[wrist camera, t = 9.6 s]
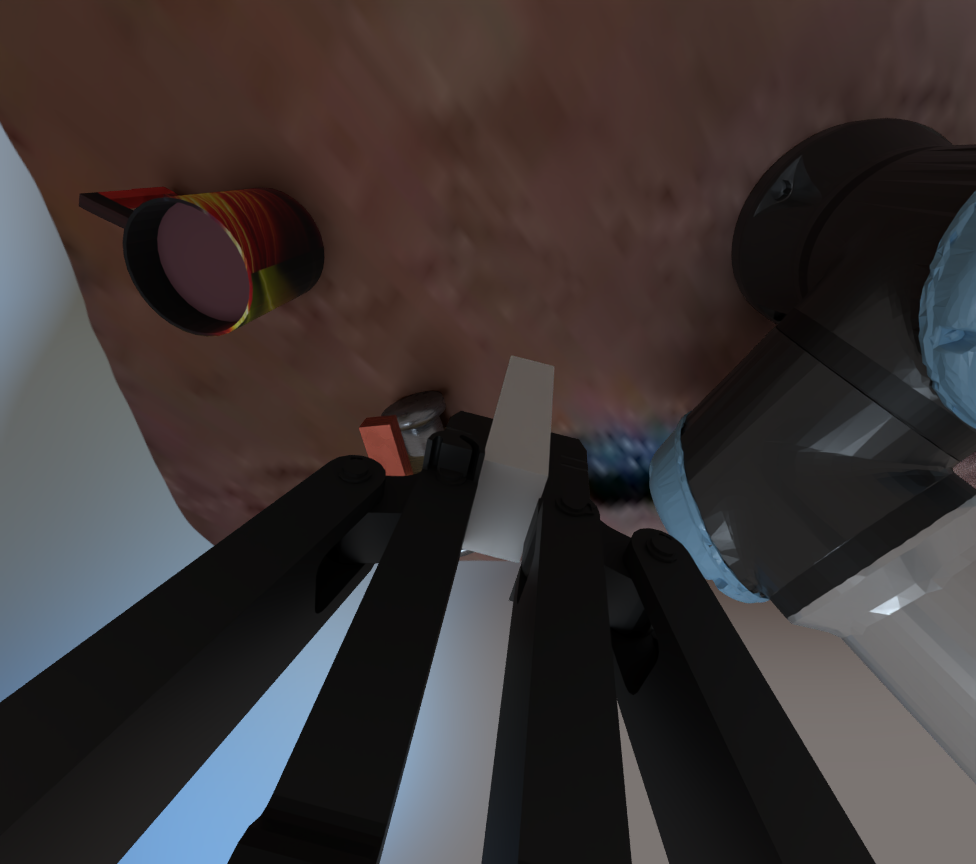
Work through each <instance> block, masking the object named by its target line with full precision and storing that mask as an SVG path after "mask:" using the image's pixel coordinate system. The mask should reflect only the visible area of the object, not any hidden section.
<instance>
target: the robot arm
mask: <svg viewBox="0 0 976 864" xmlns="http://www.w3.org/2000/svg"><path fill="white" fill-rule="evenodd" d="M732 266H733V272H734V276H735V279H736V282H737V284H738V287H739V289H740V291H741V292H742V294H743V296H744V297H745V298H746V300H747V301H748V302H749V303H750V304H751V305H752V306H753V307H754V308H755V309H756V310H757V311H759V312H760V313H761V314H762V315H764V316H765V317H766V318H768V319H769V320H771V321H772V322H774V323H776V324H778V325H777V326H776V327H774V328H773V329H772V330H771V331H770V332H769V333H768V334H767V335H766V336H765V337H764V338H763V339H762V340H761V341H760V342H759V343H758V344H757V345H756V346H755V348H754V349H753V350H752V351H751V352H750V353H749V354H748V355H747V356H746V357H745V358H744V359H743V360H742V361H741V362H740V363H739V364H738V365H737V366H736V367H735V368H734V369H733V370H732V371H731V372H730V373H729V374H728V375H727V376H726V377H725V378H724V379H723V380H722V381H721V382H720V383H719V384H718V385H717V386H716V387H715V388H714V389H713V390H712V391H711V392H710V393H709V394H708V395H707V396H706V397H705V398H704V399H703V400H702V401H701V402H700V403H699V404H698V405H697V406H696V407H695V408H694V409H693V410H692V411H690V412H689V413H687V414H685V415H684V416H683V417H682V418H681V420H680V421H679V423H678V426H677V428H676V429H675V431H674V432H673V433H672V434H671V435H670V436H669V438H668V439H667V440H666V441H665V442H664V443H663V444H662V445H661V447H660V448H659V449H658V450H657V451H656V453H655V454H654V456H653V458H652V461H651V464H650V472H649V476H650V482H649V485H650V491H651V495H652V499H653V502H654V505H655V507H656V510H657V512H658V514H659V517H660V519H661V521H662V523H663V524H664V526H665V528H666V530H667V531H668V533H669V534H666V533H664V532H662V531H659V530H655V529H651V528H646V529H639V530H637V531H636V532H634V533H633V535H632V537H631V538H630V537H628V536H626V535H624V534H622V533H620V532H618V531H616V530H614V529H612V528H611V527H609V526H607V525H606V524H605V523H603V522H602V521H601V520H600V514H599V511H598V508H597V506H596V505H595V504H594V503H593V502H592V501H591V499H590V492H589V478H588V472H587V471H588V464H587V451H586V449H585V448H584V446H583V445H582V443H581V442H580V440H579V439H575V438H571V437H567V436H563V435H559V434H555V433H552V432H551V417H552V399H553V381H554V366H551V365H547V364H543V363H539V362H535V361H531V360H527V359H523V358H519V357H515V356H511V358H510V362H509V365H508V369H507V372H506V376H505V380H504V383H503V387H502V390H501V394H500V398H499V401H498V405H497V408H496V412H495V415H494V419H491V418H487V417H484V416H480V415H476V414H472V413H468V412H464V411H460V412H458V413H457V414H455V415H453V416H452V417H451V418H450V420H449V422H448V424H447V426H446V429H445V431H439V432H436V433H433V434H432V435H431V436H430V437H429V438H428V439H427V443H426V449H425V455H424V461H423V467H422V470H421V472H419V473H417V474H413V475H408V476H387V475H386V471H385V469H384V468H383V466H382V465H381V464H380V463H379V462H377V461H375V460H374V459H372V458H368V457H365V456H359V455H348V456H342V457H338V458H336V459H334V460H332V461H330V462H328V463H327V464H326V465H324V466H323V467H322V468H320V469H319V470H317V471H316V472H315V473H313V474H312V475H311V476H309V477H308V478H307V479H305V480H304V481H302V482H301V483H300V484H298V485H297V486H296V487H294V488H293V489H292V490H290V491H289V492H287V493H286V494H285V495H283V496H282V497H281V498H279V499H278V500H276V501H275V502H274V503H272V504H271V505H270V506H268V507H267V508H266V509H264V510H263V511H261V512H260V513H259V514H257V515H256V516H255V517H253V518H252V519H250V520H249V521H248V522H246V523H245V524H244V525H242V526H241V527H240V528H238V529H237V530H235V531H234V532H233V533H231V534H230V535H229V536H227V537H226V538H224V539H223V540H222V541H220V542H219V543H218V544H216V545H215V546H214V547H212V548H211V549H209V550H208V551H207V552H205V553H204V554H203V555H201V556H200V557H199V558H197V559H196V560H194V561H193V562H192V563H190V564H189V565H188V566H186V567H185V568H184V569H182V570H181V571H179V572H178V573H177V574H175V575H174V576H173V577H171V578H170V579H168V580H167V581H166V582H164V583H163V584H162V585H160V586H159V587H157V588H156V589H155V590H153V591H152V592H151V593H149V594H148V595H147V596H145V597H144V598H143V599H141V600H140V601H138V602H137V603H136V604H134V605H133V606H131V607H130V608H129V609H127V610H126V611H125V612H124V613H122V614H121V615H119V616H118V617H116V618H115V619H114V620H112V621H111V622H110V623H108V624H107V625H105V626H104V627H103V628H101V629H100V630H99V631H97V632H96V633H95V634H93V635H92V636H90V637H89V638H88V639H87V640H85V641H84V642H82V643H81V644H80V645H78V646H77V647H75V648H74V649H73V650H71V651H70V652H69V653H67V654H66V655H64V656H63V657H62V658H60V659H59V660H58V661H56V662H55V663H54V664H52V665H51V666H49V667H48V668H47V669H45V670H44V671H43V672H41V673H40V674H39V675H37V676H36V677H34V678H33V679H32V680H30V681H29V682H28V683H26V684H25V685H23V686H22V687H21V688H19V689H18V690H17V691H15V692H14V693H13V694H11V695H10V696H9V697H7V698H6V699H4V700H3V701H2V702H0V864H117V863H118V862H119V861H120V860H121V859H122V857H123V856H124V855H125V854H126V853H127V852H128V850H129V849H130V848H131V847H132V846H133V845H134V843H135V842H136V841H137V840H138V839H139V837H140V836H141V835H142V834H143V833H144V832H145V831H146V830H147V828H148V827H149V826H150V825H151V824H152V823H153V821H154V820H155V819H156V818H157V817H158V816H159V815H160V813H161V812H162V811H163V810H164V809H165V808H166V807H167V805H168V804H169V803H170V802H171V801H172V800H173V798H174V797H175V796H176V795H177V794H178V792H179V791H180V790H181V789H182V788H183V787H184V786H185V784H186V783H187V782H188V781H189V780H190V779H191V778H192V776H193V775H194V774H195V773H196V772H197V771H198V770H199V768H200V767H201V766H202V765H203V764H204V763H205V761H206V760H207V759H208V758H209V757H210V756H211V754H212V753H213V752H214V751H215V750H216V749H217V748H218V746H219V745H220V744H221V743H222V742H223V741H224V739H225V738H226V737H227V736H228V735H229V734H230V733H231V731H232V730H233V729H234V728H235V727H236V726H237V724H238V723H239V722H240V721H241V720H242V719H243V718H244V716H245V715H246V714H247V713H248V712H249V711H250V709H251V708H252V707H253V706H254V705H255V704H256V702H257V701H258V700H259V699H260V698H261V697H262V695H263V694H264V693H265V692H266V691H267V690H268V689H269V687H270V686H271V685H272V684H273V683H274V682H275V680H276V679H277V678H278V677H279V676H280V674H282V672H283V671H284V670H285V669H286V668H287V667H288V666H289V664H290V663H291V662H292V661H293V660H294V659H295V657H296V656H297V655H298V654H299V653H300V652H301V650H302V649H303V648H304V647H305V646H306V644H308V642H309V641H310V640H311V639H312V638H313V637H314V635H315V634H316V633H317V632H318V631H319V630H320V629H321V627H322V626H323V625H324V624H325V623H326V621H327V620H328V619H329V618H330V617H331V616H332V615H333V613H334V612H335V611H336V610H337V609H338V608H339V607H340V605H341V604H342V603H343V602H344V601H345V600H346V598H347V597H348V596H349V595H350V594H351V593H352V591H353V590H354V589H355V588H356V587H357V586H358V584H359V583H360V582H361V581H362V580H363V579H364V578H365V576H366V575H367V574H368V573H369V572H370V571H371V569H372V567H373V566H374V564H375V563H379V564H378V566H377V569H376V570H375V573H374V575H373V577H372V579H371V581H370V584H369V586H368V588H367V590H366V592H365V595H364V597H363V599H362V601H361V603H360V605H359V608H358V610H357V612H356V614H355V616H354V618H353V621H352V623H351V625H350V627H349V629H348V631H347V634H346V636H345V638H344V640H343V642H342V645H341V647H340V649H339V651H338V653H337V655H336V658H335V660H334V662H333V664H332V667H331V669H330V671H329V673H328V675H327V677H326V679H325V682H324V684H323V686H322V688H321V690H320V693H319V695H318V697H317V699H316V701H315V703H314V706H313V708H312V710H311V712H310V714H309V716H308V719H307V721H306V723H305V725H304V727H303V730H302V732H301V734H300V736H299V738H298V741H297V743H296V745H295V747H294V749H293V752H292V754H291V756H290V758H289V760H288V762H287V765H286V766H285V769H284V771H283V773H282V775H281V778H280V780H279V782H278V784H277V786H276V788H275V790H274V793H273V795H272V797H271V799H270V801H269V803H268V805H267V807H266V808H265V810H264V811H263V813H262V814H261V816H260V817H259V818H258V819H257V820H255V822H253V823H252V824H251V825H250V826H249V827H248V829H247V830H246V832H245V833H244V835H243V836H242V838H241V839H240V841H239V842H238V844H237V846H236V848H235V850H234V852H233V854H232V856H231V858H230V859H229V861H228V863H227V864H379V863H380V859H381V855H382V851H383V848H384V844H385V840H386V836H387V832H388V829H389V825H390V821H391V817H392V813H393V809H394V806H395V802H396V798H397V794H398V790H399V787H400V783H401V779H402V775H403V771H404V768H405V764H406V760H407V756H408V752H409V748H410V744H411V741H412V737H413V733H414V730H415V725H416V722H417V718H418V714H419V710H420V706H421V703H422V699H423V695H424V691H425V688H426V684H427V680H428V676H429V672H430V668H431V664H432V661H433V657H434V653H435V649H436V646H437V642H438V638H439V634H440V630H441V627H442V623H443V619H444V615H445V611H446V608H447V604H448V600H449V596H450V592H451V589H452V585H453V581H454V577H455V573H456V570H457V566H458V562H459V558H460V554H461V550H462V549H466V550H470V551H474V552H478V553H482V554H485V555H489V556H493V557H497V558H501V559H505V560H509V561H512V562H517V563H519V561H520V558H521V555H522V563H521V566H520V569H519V572H518V575H517V578H516V581H515V584H514V587H513V590H512V593H511V596H510V598H509V600H510V601H513V610H512V617H511V626H510V635H509V642H508V650H507V658H506V667H505V675H504V684H503V692H502V700H501V708H500V716H499V724H498V732H497V741H496V749H495V757H494V765H493V774H492V782H491V790H490V798H489V807H488V815H487V823H486V831H485V839H484V848H483V856H482V864H632V861H631V851H630V839H629V828H628V817H627V806H626V797H625V785H624V774H623V763H622V752H621V741H620V730H619V719H618V709H617V701H618V704H619V707H620V710H621V713H622V717H623V720H624V723H625V726H626V729H627V732H628V736H629V739H630V742H631V745H632V748H633V751H634V754H635V757H636V760H637V764H638V767H639V770H640V773H641V776H642V779H643V783H644V786H645V789H646V792H647V795H648V798H649V801H650V804H651V807H652V811H653V814H654V817H655V820H656V823H657V826H658V829H659V832H660V836H661V839H662V842H663V845H664V848H665V851H666V855H667V858H668V861H669V864H876V863H875V862H874V860H873V858H872V857H871V855H870V853H869V852H868V850H867V848H866V847H865V845H864V843H863V842H862V840H861V838H860V837H859V835H858V833H857V832H856V830H855V828H854V827H853V825H852V823H851V822H850V820H849V818H848V817H847V815H846V813H845V811H844V810H843V808H842V807H841V805H840V803H839V802H838V800H837V798H836V796H835V795H834V793H833V791H832V790H831V788H830V786H829V785H828V783H827V781H826V780H825V778H824V776H823V775H822V773H821V771H820V770H819V768H818V766H817V765H816V763H815V761H814V760H813V758H812V756H811V755H810V753H809V752H808V750H807V748H806V747H805V745H804V743H803V741H802V740H801V738H800V736H799V735H798V733H797V731H796V730H795V728H794V727H793V725H792V723H791V721H790V720H789V718H788V717H787V715H786V713H785V712H784V710H783V708H782V706H781V705H780V703H779V701H778V700H777V698H776V696H775V695H774V693H773V691H772V690H771V688H770V686H769V685H768V683H767V681H766V680H765V678H764V676H763V675H762V673H761V671H760V670H759V668H758V666H757V665H756V663H755V661H754V660H753V658H752V657H751V655H750V653H749V651H748V650H747V648H746V646H745V645H744V643H743V642H742V640H741V638H740V636H739V635H738V633H737V631H736V630H735V628H734V626H733V625H732V623H731V622H730V620H729V618H728V616H727V615H726V613H725V612H724V610H723V608H722V606H721V605H720V603H719V602H718V600H717V598H716V596H715V595H714V593H713V591H712V590H711V588H710V586H709V585H708V583H707V581H706V580H705V578H706V579H707V580H711V579H712V580H713V581H714V583H715V585H716V586H717V588H718V590H720V591H722V592H723V593H724V594H726V595H727V596H729V597H731V598H733V599H735V600H738V601H741V602H745V603H755V602H765V601H768V600H771V601H772V602H773V604H774V605H775V606H776V607H777V608H778V609H779V610H780V612H781V613H782V614H783V615H784V616H785V617H786V618H787V620H788V621H789V622H790V623H791V624H795V625H799V626H803V627H808V628H812V629H817V630H821V631H825V632H829V633H831V634H834V635H835V636H838V637H840V638H841V639H842V640H843V641H844V642H845V643H846V644H847V645H848V646H849V647H850V648H851V650H852V651H853V652H854V653H855V654H856V655H857V656H858V657H859V658H860V659H861V660H862V661H863V663H864V664H865V665H866V666H867V667H868V668H869V669H870V670H871V671H872V672H873V673H874V674H875V676H876V677H877V678H878V679H879V680H880V681H881V682H882V683H883V684H884V685H885V686H886V687H887V689H888V690H889V691H890V692H891V693H892V694H893V695H894V696H895V697H896V698H897V699H898V700H899V702H900V703H901V704H902V705H903V706H904V707H905V708H906V709H907V710H908V711H909V712H910V714H911V715H912V716H913V717H914V718H915V719H916V720H917V721H918V722H919V723H920V724H921V725H922V727H923V728H924V729H925V730H926V731H927V732H928V733H929V734H930V735H931V736H932V737H933V739H934V740H935V741H936V742H937V743H938V744H939V745H940V746H941V747H942V748H943V749H944V750H945V752H946V753H947V754H948V755H949V756H950V757H951V758H952V759H953V760H954V761H955V762H956V763H957V765H958V766H959V767H960V768H961V769H962V770H963V771H964V772H965V773H966V774H967V775H968V776H969V778H971V779H972V781H973V782H974V783H975V784H976V489H975V488H974V487H972V486H971V485H970V484H968V483H967V482H966V481H964V480H963V479H962V478H960V477H959V476H958V475H956V474H955V473H954V472H953V467H954V466H956V465H957V464H958V463H960V461H962V460H964V459H965V458H966V457H968V456H969V455H971V454H972V453H974V452H975V451H976V144H975V145H952V143H950V142H949V141H948V140H947V139H946V138H945V137H943V136H942V135H941V134H939V133H938V132H937V131H935V130H933V129H932V128H929V127H927V126H925V125H922V124H919V123H916V122H912V121H908V120H902V119H891V118H883V119H871V120H863V121H855V122H850V123H845V124H841V125H838V126H835V127H832V128H829V129H827V130H824V131H822V132H820V133H818V134H815V135H813V136H811V137H810V138H808V139H806V140H804V141H803V142H801V143H800V144H798V145H797V146H795V147H794V148H792V149H791V150H790V151H788V152H787V153H786V154H785V155H784V156H782V157H781V158H780V159H779V160H778V161H777V162H776V163H775V164H774V165H773V166H772V167H771V168H770V169H769V170H768V171H767V172H766V173H765V174H764V176H763V177H762V178H761V179H760V181H759V182H758V183H757V184H756V186H755V187H754V189H753V190H752V192H751V193H750V195H749V197H748V199H747V200H746V202H745V204H744V206H743V208H742V211H741V213H740V215H739V218H738V221H737V224H736V227H735V231H734V236H733V242H732ZM522 552H523V554H522Z"/></svg>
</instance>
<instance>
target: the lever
mask: <svg viewBox="0 0 976 864" xmlns="http://www.w3.org/2000/svg"><path fill="white" fill-rule="evenodd" d="M359 429H360V432H361V435H362V438H363V441H364V444H365V447H366V450H367V453H368V456H369V458H372V459H374V460H375V461H377V462H379V463H380V464H381V465H382V466H383V468H384V469H385V471H386V475H387V476H408V475H413V471H412V468H411V464H410V461H409V458H408V454H407V451H406V447H405V444H404V440H403V437H402V434H401V430H400V427H399V423H398V420H397V416H396V415H390V416H380V417H370V418H366V419H365V420H364V422H363V423H362V424H361V426H360V427H359Z"/></svg>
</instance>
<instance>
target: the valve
mask: <svg viewBox="0 0 976 864" xmlns="http://www.w3.org/2000/svg"><path fill="white" fill-rule="evenodd" d="M445 408H446V404H445V401H444V398H443V396H442V394H441V393H439V392H436V391H427V392H421V393H417V394H413V395H410V396H408V397H405V398H403V399H401V400H399V401H397V402H395V403H393V404H392V405H390V406H389V407H388V408H386V409H385V410H384V412H383V413H382V415H381V416H390V415H396V416H397V420H398V423H399V427H400V430H401V434H402V437H403V440H404V444H405V447H406V451H407V454H408V458H409V461H410V464H411V468H412V471H413V474H417V473H419V472H421V470H422V467H423V461H424V455H425V449H426V443H427V439H428V438H429V437H430V436H431V435H432V434H433V433H436V432H439V431H445V429H446V427H443V424H442V422H441V419H440V416H439V415H441V414H442V413H443V411H444V410H445ZM473 552H474V551H470V550H466V549H462V550H461V554H460V557H461V556H465V555H468V554H471V553H473Z"/></svg>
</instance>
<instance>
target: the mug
mask: <svg viewBox="0 0 976 864" xmlns="http://www.w3.org/2000/svg"><path fill="white" fill-rule="evenodd" d="M79 207H81V208H83V209H85V210H87V211H89V212H91V213H92V214H95V215H97V216H99V217H101V218H103V219H105V220H107V221H109V222H111V223H113V224H115V225H117V226H119V227H122V228H124V235H123V252H124V258H125V262H126V266H127V270H128V272H129V274H130V277H131V279H132V281H133V283H134V285H135V286H136V288H137V290H138V291H139V293H140V295H141V296H142V297H143V298H144V300H145V301H146V302H147V303H148V305H149V306H150V307H151V308H152V309H153V310H154V311H155V312H156V313H157V314H158V315H160V316H161V317H162V318H163V319H165V320H166V321H168V322H169V323H170V324H172V325H174V326H175V327H177V328H179V329H181V330H183V331H186V332H189V333H192V334H195V335H200V336H207V337H209V336H220V335H223V334H227V333H229V332H231V331H233V330H235V329H237V328H239V327H241V326H243V325H245V324H247V323H249V322H250V321H252V320H254V319H256V318H258V317H260V316H262V315H264V314H266V313H268V312H270V311H271V310H273V309H275V308H277V307H279V306H281V305H283V304H285V303H287V302H289V301H291V300H292V299H294V298H296V297H298V296H300V295H302V294H304V293H305V292H307V291H309V290H310V289H311V288H312V287H313V286H314V285H315V284H316V282H317V281H318V279H319V277H320V275H321V272H322V269H323V264H324V246H323V242H322V238H321V235H320V232H319V230H318V228H317V225H316V224H315V222H314V220H313V219H312V217H311V216H310V214H309V213H308V212H307V211H306V210H305V208H304V207H303V206H302V205H301V204H299V203H298V202H297V201H296V200H295V199H293V198H292V197H290V196H288V195H287V194H285V193H283V192H280V191H278V190H275V189H270V188H253V189H243V190H233V191H222V192H212V193H202V194H192V195H182V196H180V195H178V194H176V193H174V192H173V191H171V190H169V189H167V188H165V187H154V188H140V189H132V190H123V191H109V192H96V193H82V194H80V197H79ZM130 208H136V209H135V210H134V211H133V210H131V209H130Z"/></svg>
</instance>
